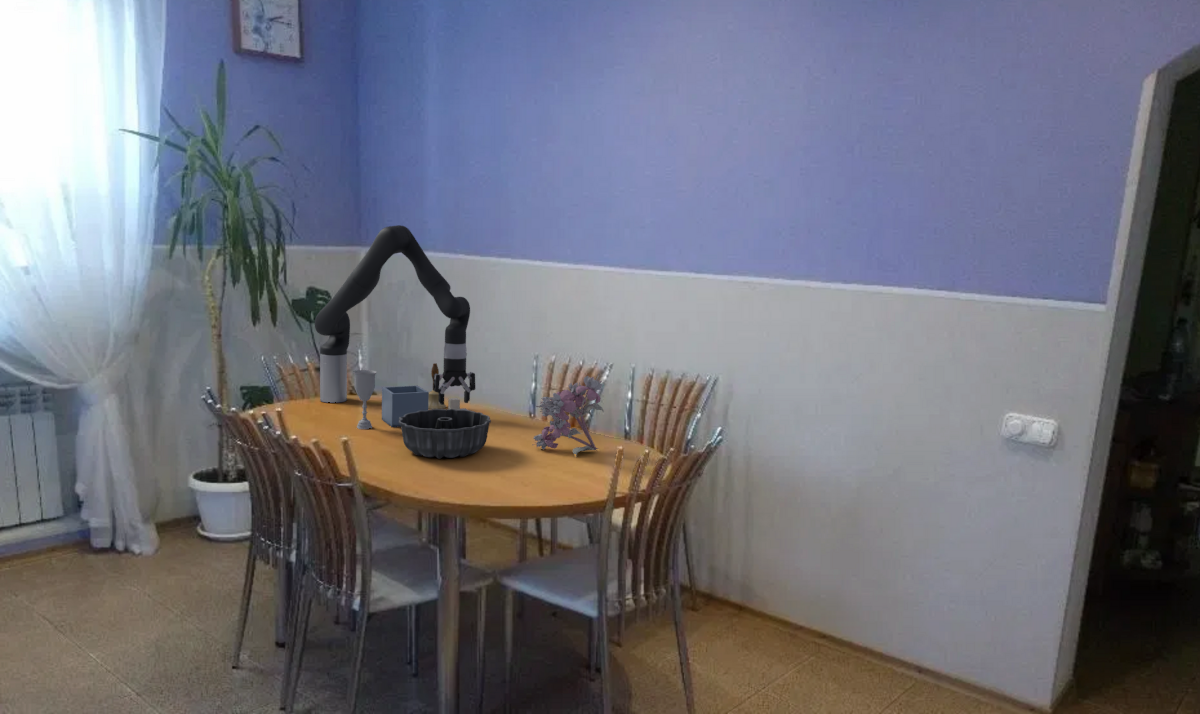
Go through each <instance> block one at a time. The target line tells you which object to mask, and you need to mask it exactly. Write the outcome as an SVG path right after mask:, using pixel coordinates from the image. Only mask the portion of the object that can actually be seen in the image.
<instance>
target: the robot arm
mask: <svg viewBox="0 0 1200 714" xmlns="http://www.w3.org/2000/svg"><path fill="white" fill-rule="evenodd" d="M399 253H400V254H402V255H404V256H405V257H406V258H407V259H408V261H409V262H410V263H411V264H412V266H413V268H414V270H415V273H416V276H417V278H418V281H419V282H420V284H421V285H422V287H423V288H424V289H425V290H426V291H427V292H428V294H429V295H431V297H432V298H433V300H434V302H435V304H436V305H437V307H438V308H439V310H440V312H441V313H442V315H444V316H445V317H446V318H448V319H450V320H449V324H448V325H447V326H446V327H445V330H444V347H443V373H442V374H434V382H433V381H432V390H433V391H435V392H438V393H439V403H440V404H441V405H444V404H445V392H446V391H447V390H448V388H449V387H461V388H462V389H463V391H464V392H463V402H464V403H465V404H468V403H469V402H470V400H471V399H470V398H471V392H472V391H475V390H476V374H475V372H472V371H470V372H467V355H468V353H467V328H468V324H469V321H470V315H471V306H470V302H469V301H468V299H467V298H465V297H464V296H455V295H453V294H452V291H451V289H452V288H451V285H450V283H449V282H448V281H447V279H445V277H444V276H443V275H442V274H441V273H440V272H439V270H437V268H435V266H434V265H433V263H432V261H430V259H429V258H428V256H427V255H426V254H425V253H426V252H425V251H424V250H423V249H422V247H421V245H420V243H419V242H418V241H417V239H416V238H415V236H414V235H413V233H412V232H411V230H410V229H409V228H408V227H406V226H404V225H397V224H396V225H390V226H386V227H384V228H382V229H380V231H379V232H378V234H376V236H375V238H374V239H373V242H372V244H371V246H369V249H368V251H367V252H366V253H365V254H364V256H363V257H362V258H361V260H360V261H359V263H358V264H357V265H356V267H355V268H354V269H353V270H352V271H351V273H350V274H349V276H348V277H347V278H346V280H345V281H344V282H343V284H342V285H341V287H340V288H339V289H338V290H337V292H336V293H335V294H334V296H333V297H332V298H331V299H330V300H329V301H328V302H327V303H326V305H325V306H324V307H323V308H321V309H320V311H319V312H318V313H317V314H316V317H315V319H314V328H315V331H316V332H317V334H319V335H320V336H327V337H328V336H329V337H328V339H327V341H325V342H324V343H323V344H321V346H320V347H319V363H320V364H319V365H320V367H319V370H320V371H319V378H320V379H319V380H320V381H319V383H320V385H319V387H320V388H319V390H320V391H319V392H320V393H319V401H320V402H323V403H328V402H330V403H332V404H334V403H335V402H336V403H337V404H338V403H344V402H346V401H347V400H348V398H347V397H348V395H347V394H348V389H347V388H348V348H349V346H350V334H351V321H350V320H351V319H350V316H349V314H348V313H347V312H348V311H349V310H351V309H352V308H354V307H356V306H357V305H358V304H360V303H361V302H363V301H364V300H366V299H367V298H368V297H369V295H370V294H371V293H372V292H373V290H375V288H376V287H377V285H378V283H379V281H380V277H381V272H382V271H381V270H382V269H383V266H384V265H385V264H386V263H387V262H388V260H389V259H390V258H391V257H392V256H393V255H395V254H399ZM467 378H468V382H469V386H468V384H467V382H465V381H466V379H467ZM442 379H443V380H444V381H443V382H442V383H441V384H440V382H441V380H442Z"/></svg>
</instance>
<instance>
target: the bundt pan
mask: <svg viewBox="0 0 1200 714" xmlns="http://www.w3.org/2000/svg"><path fill="white" fill-rule="evenodd" d="M490 417H491V416H489V415H487V414H484V413H483V412H480V411H479V412H476V411H474V410H469V409H467V410H456V409H448V408H447V409H446V408H444V409H428V410H427V411H418V412H413V413H408V414H405V415H404V416H403V417H399V424H400V425H401V427H400V428H401V434H402V440H403V444H404V446H405V447H406V448H407V450H409V451H410V452H412V453H413V455H416V456H418V457H422V455H423V457H425V458H434V457H436V458H437V459H438V460H441V459H443V458H444V457H445V458H448V459H453V458H456V457H459V456H460V458H465V457H467V456H468V455H472V454H473V455H474V454H475V453H477V452H478V451H480V450H481V449H483V448H484V447H485V445H486V443H487V439H488V434H489V428H490V424H491V422H492V420H491V418H490Z"/></svg>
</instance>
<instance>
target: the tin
mask: <svg viewBox="0 0 1200 714" xmlns="http://www.w3.org/2000/svg"><path fill="white" fill-rule="evenodd" d="M429 392H430V391H427V389H424V388H423V387H420V386H419V385H403V386H402V385H400V386H383V387H382V386H381V421H383V422H384V423H385V424H386V425H388V426H389V427H390V426H391V427H390V428H392V427H394V428H401V425H400V424H399V417H403V416H404V415H405V414H408V413H413V412H418V411H427V410H429V409H428V403H429Z"/></svg>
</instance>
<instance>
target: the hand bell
mask: <svg viewBox="0 0 1200 714" xmlns="http://www.w3.org/2000/svg"><path fill="white" fill-rule="evenodd" d="M439 370H440V369H439V366H438V364H437V363H432V367H431V371H430V372H431V373H430V375H431V379H432V383H433V382H434V374H439ZM428 392H429V403H428V410H432V409H446V408H447V405H446V404H445V403H444V405H441V404H440V403H439V393H438V392H435V391H433V389H432V390H431V391H428Z"/></svg>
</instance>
